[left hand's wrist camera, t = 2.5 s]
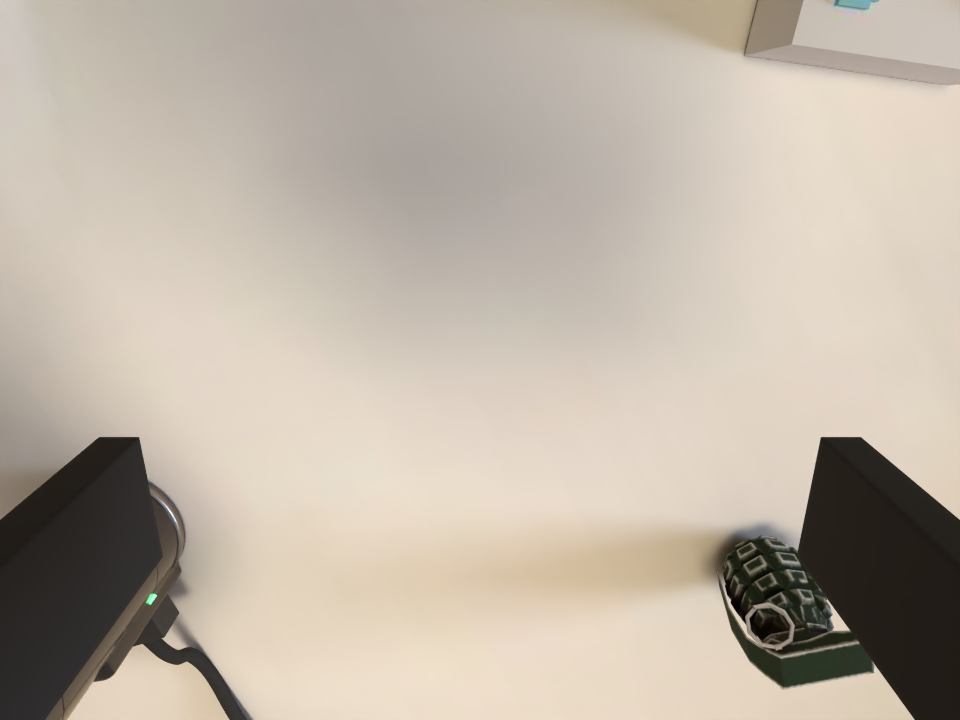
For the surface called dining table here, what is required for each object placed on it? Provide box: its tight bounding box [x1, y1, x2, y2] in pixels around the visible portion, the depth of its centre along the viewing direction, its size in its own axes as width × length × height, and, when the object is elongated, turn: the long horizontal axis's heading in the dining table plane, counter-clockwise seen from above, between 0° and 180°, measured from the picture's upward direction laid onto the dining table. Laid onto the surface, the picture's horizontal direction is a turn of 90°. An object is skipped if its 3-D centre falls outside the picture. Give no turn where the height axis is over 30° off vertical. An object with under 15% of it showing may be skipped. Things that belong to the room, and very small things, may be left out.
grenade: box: [717, 536, 875, 690], centre depth 42 cm, size 7×6×10 cm
